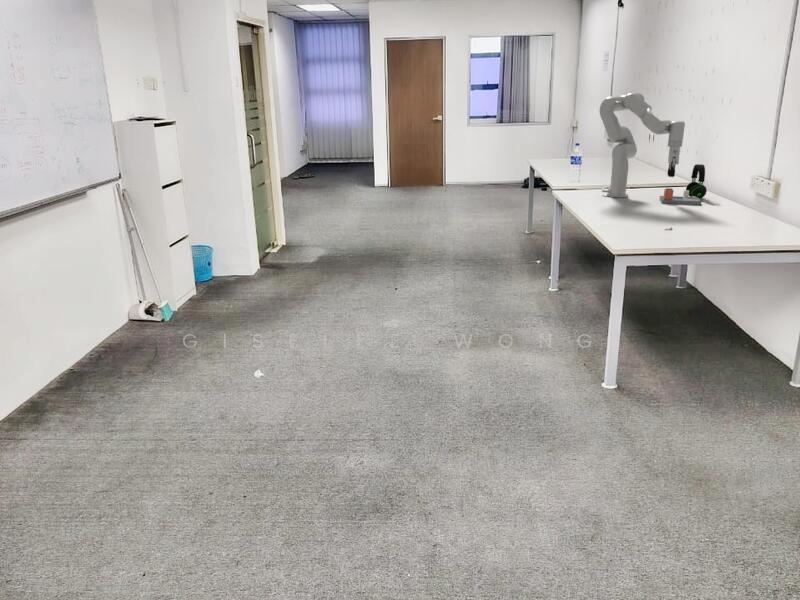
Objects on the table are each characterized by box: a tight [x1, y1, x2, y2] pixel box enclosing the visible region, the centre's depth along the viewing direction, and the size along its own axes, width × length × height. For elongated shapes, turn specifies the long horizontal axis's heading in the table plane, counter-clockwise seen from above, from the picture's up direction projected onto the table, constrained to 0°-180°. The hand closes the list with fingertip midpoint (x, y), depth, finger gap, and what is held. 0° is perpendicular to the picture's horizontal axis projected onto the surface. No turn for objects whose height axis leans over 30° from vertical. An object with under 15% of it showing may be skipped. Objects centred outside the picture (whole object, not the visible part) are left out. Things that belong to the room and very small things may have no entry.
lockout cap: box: [663, 187, 675, 200], centre depth 369 cm, size 4×4×6 cm
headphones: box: [685, 163, 708, 199], centre depth 381 cm, size 9×16×20 cm, turn 173°
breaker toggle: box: [682, 189, 690, 197], centre depth 372 cm, size 2×4×4 cm, turn 163°
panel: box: [659, 195, 702, 206], centre depth 371 cm, size 21×15×3 cm
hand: (670, 175), depth 366 cm, fingers open, 5 cm apart
